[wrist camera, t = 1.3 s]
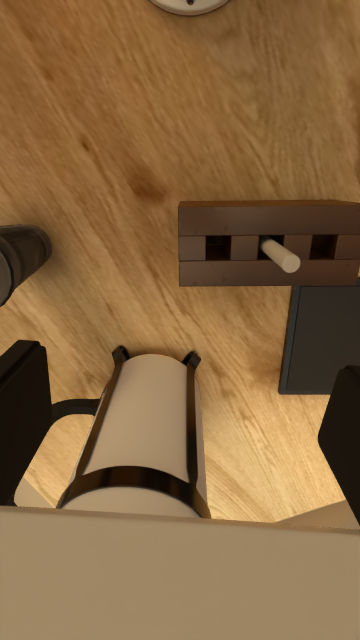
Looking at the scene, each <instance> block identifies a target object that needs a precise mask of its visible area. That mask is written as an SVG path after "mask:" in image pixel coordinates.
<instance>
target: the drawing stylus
mask: <svg viewBox="0 0 360 640" xmlns="http://www.w3.org/2000/svg"><path fill="white" fill-rule="evenodd" d="M258 247H259V248H260V249H261V250H262V251H263V252H264V253H265V254H266V255H268V256H269V257H270V258H271V259H272V260H273V261H274V262H275V263H276V264H277V265H278V266H280V267H281V268H282V269H283V270H284V271H285V272H287V273H292V272H295V271H296V270H297V269H298V268H299V266H300V259H299V257H297V256H296V255H295V254H293V253H292V252H290V251H289V250H287V249H286V248H284V247H283V246H281V245H280V244H278V243H277V242H275V241H274V240H272V239H271V238H269V237H268V236H266V235H259V243H258Z"/></svg>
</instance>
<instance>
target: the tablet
mask: <svg viewBox="0 0 360 640" xmlns="http://www.w3.org/2000/svg"><path fill="white" fill-rule="evenodd" d="M346 365H357V366H360V277H357V281H356V285H346V286H292V290H291V298H290V305H289V313H288V320H287V328H286V335H285V343H284V350H283V358H282V365H281V373H280V380H279V388H278V392H279V394H288V395H331V392H332V389H333V386H334V383H335V380H336V377H337V374H338V371H339V370H340V369H344V367H345V366H346Z"/></svg>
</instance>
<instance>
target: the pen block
mask: <svg viewBox="0 0 360 640" xmlns="http://www.w3.org/2000/svg"><path fill="white" fill-rule="evenodd" d="M178 232H179V286H346V285H356V281H357V276H358V272H359V267H360V203H355V202H347V201H339V200H262V201H180V203H179V206H178ZM259 235H266V236H268V237H269V238H271V239H272V240H274V241H275V242H277V243H278V244H280V245H281V246H283V247H284V248H286V249H287V250H289V251H290V252H292V253H293V254H295V255H296V256H297V257H299V259H300V266H299V268H298V269H297V270H296V271H295V272H292V273H287V272H285V271H284V270H283V269H282V268H281V267H280V266H278V265H277V264H276V263H275V262H274V261H273V260H272V259H271V258H270V257H269V256H268V255H266V254H265V253H264V252H263V251H262V250H261V249H260V248H259V247H258V243H259ZM206 236H222V240H221V244H222V245H206Z"/></svg>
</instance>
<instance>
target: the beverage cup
mask: <svg viewBox="0 0 360 640" xmlns="http://www.w3.org/2000/svg"><path fill="white" fill-rule="evenodd" d="M51 251H52V246H51V242H50V239H49V237H48V236H47V234H46V233H45V232H44V231H43V230H41V229H40V228H38V227H36V226H34V225H7V226H0V307H1V306H3V305H4V304H5V303H6V302H7V300H8V299H9V298H10V296H11V295H12V293H13V291H14V290H15V289H16V288H17V287H18V286H19V285H20V284H21V283H22V282H24V281H25V280H26V279H27V278H28V277H29V276H31V275H32V274H33V273H34V272H35V271H36V270H37V269H39V268H40V267H41V266H42V265H43V264H44V262H45V261H47V260H48V258H49V257H50V255H51Z"/></svg>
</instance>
